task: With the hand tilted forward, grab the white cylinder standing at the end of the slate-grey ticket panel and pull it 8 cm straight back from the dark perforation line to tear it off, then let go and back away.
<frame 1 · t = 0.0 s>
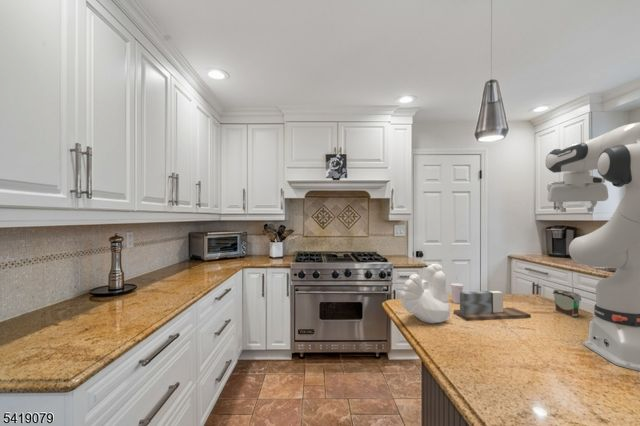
hand: (576, 211, 124), 48 cm above the countertop, tool pointing down, fingers open, 8 cm apart
food container: (570, 314, 131), on the countertop
decorative rooster: (422, 320, 123), on the countertop
white cylinder: (495, 301, 130), point 6 cm above the countertop, slide at 0.0 cm
smoothie: (457, 302, 149), on the countertop
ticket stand: (490, 315, 129), on the countertop
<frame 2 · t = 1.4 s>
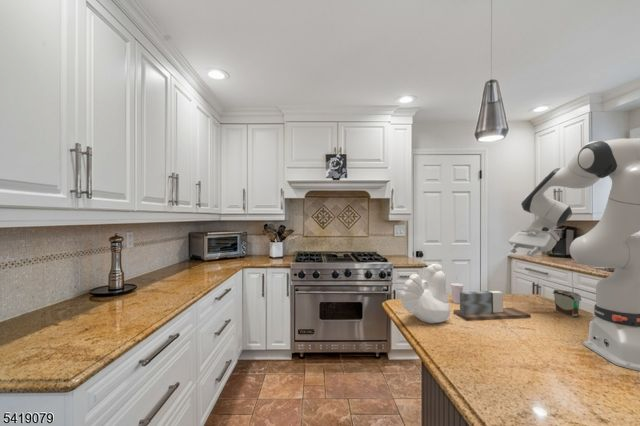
hand: (520, 253, 132), 28 cm above the countertop, tool tilted 45°, fingers open, 8 cm apart
nothing on the countertop moved.
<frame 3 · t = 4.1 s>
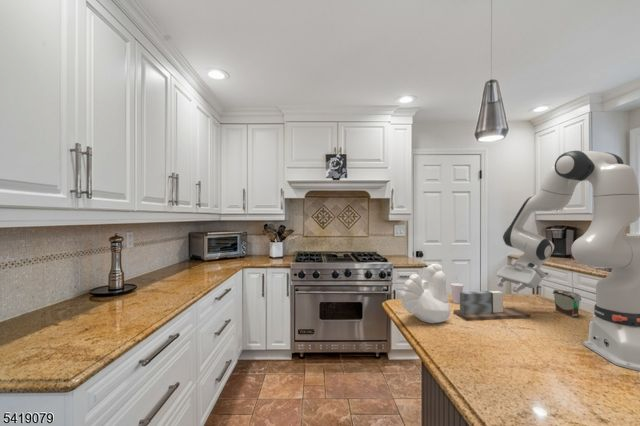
hand: (506, 288, 131), 12 cm above the countertop, tool tilted 45°, fingers open, 8 cm apart
nothing on the countertop moved.
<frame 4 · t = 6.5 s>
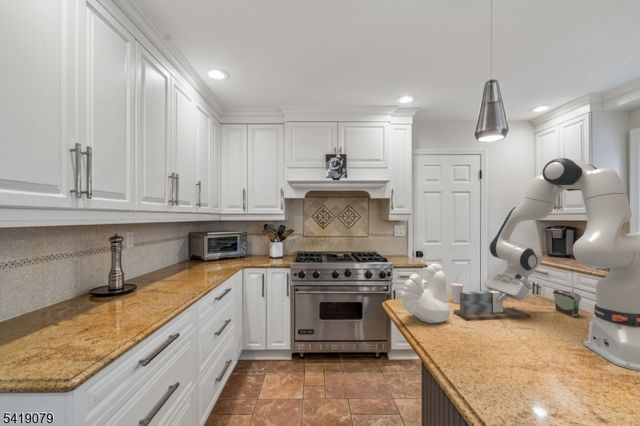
hand: (494, 300, 130), 7 cm above the countertop, tool tilted 45°, fingers closed on white cylinder, 3 cm apart
white cylinder: (495, 301, 130), point 6 cm above the countertop, slide at 0.0 cm, touching gripper
everything else where it was.
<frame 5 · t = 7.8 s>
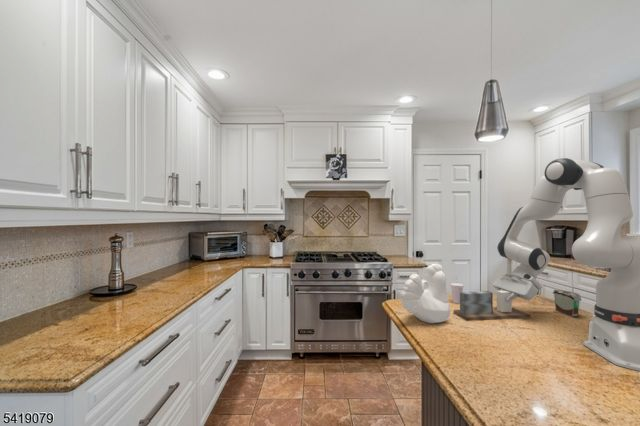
hand: (502, 299, 130), 7 cm above the countertop, tool tilted 45°, fingers closed on white cylinder, 3 cm apart
white cylinder: (504, 301, 130), point 6 cm above the countertop, slide at 4.4 cm, touching gripper
everything else where it was.
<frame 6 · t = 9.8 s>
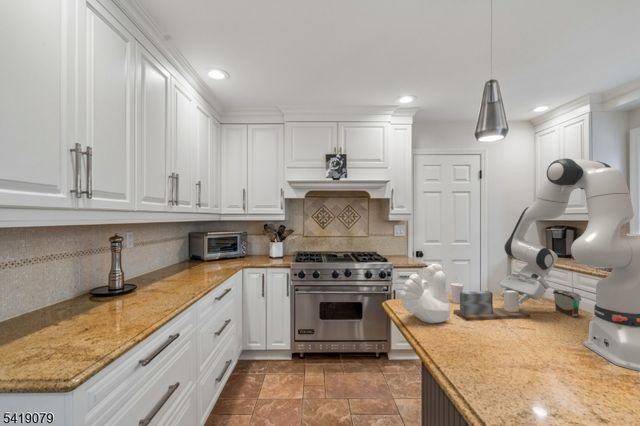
hand: (510, 299, 131), 7 cm above the countertop, tool tilted 45°, fingers open, 8 cm apart
white cylinder: (511, 301, 131), point 6 cm above the countertop, slide at 8.0 cm
everything else where it was.
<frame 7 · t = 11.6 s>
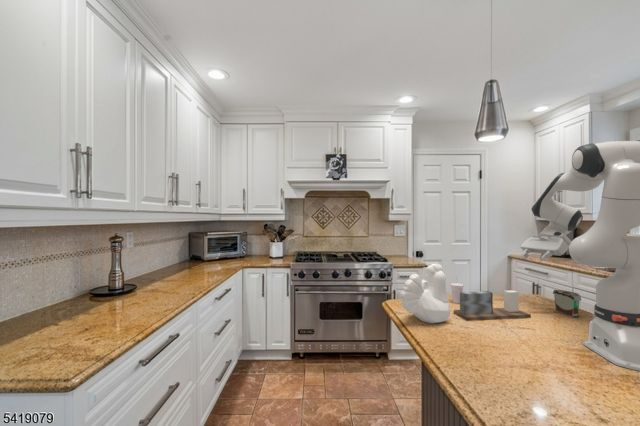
hand: (532, 258, 133), 26 cm above the countertop, tool tilted 45°, fingers open, 8 cm apart
nothing on the countertop moved.
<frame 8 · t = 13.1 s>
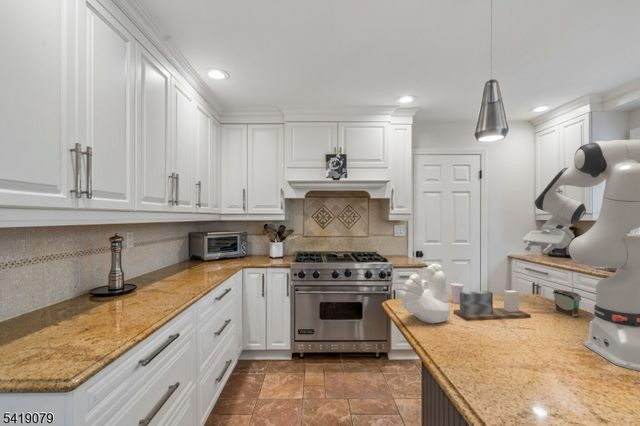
hand: (534, 251, 133), 29 cm above the countertop, tool tilted 45°, fingers open, 8 cm apart
nothing on the countertop moved.
at the end: white cylinder slide at 8.0 cm; the gripper is holding nothing; smoothie moved 0.2 cm from its start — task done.
